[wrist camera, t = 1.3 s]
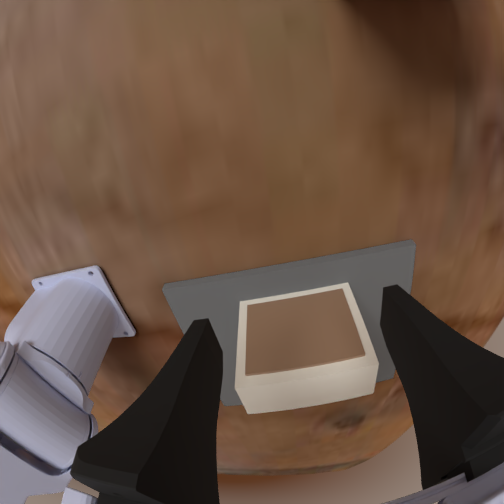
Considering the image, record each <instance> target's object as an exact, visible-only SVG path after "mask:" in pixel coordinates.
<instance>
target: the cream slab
mask: <svg viewBox="0 0 504 504" xmlns="http://www.w3.org/2000/svg"><path fill="white" fill-rule="evenodd" d="M378 366H379V362H378V359H377V357H376V354H375V351H374V348H373V345H372V343H371V340H370V337H369V334H368V332H367V329H366V326H365V324H364V321H363V319H362V316H361V313H360V311H359V308H358V306H357V303H356V301H355V298H354V296H353V293H352V291H351V288H350V286H349V283H348V282H347V283H342V284H337V285H332V286H327V287H322V288H316V289H311V290H305V291H300V292H294V293H289V294H283V295H277V296H271V297H265V298H259V299H253V300H246V301H240V307H239V323H238V339H237V356H236V373H235V390H236V392H237V394H238V396H239V398H240V400H241V401H242V403H243V405H244V407H245V409H246V411H247V413H248V414H254V413H265V412H274V411H282V410H290V409H297V408H303V407H310V406H316V405H321V404H327V403H332V402H337V401H342V400H347V399H351V398H356V397H360V396H364V395H369V394H373V393H374V388H375V383H376V377H377V372H378Z"/></svg>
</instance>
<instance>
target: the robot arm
mask: <svg viewBox="0 0 504 504" xmlns="http://www.w3.org/2000/svg"><path fill="white" fill-rule="evenodd" d="M90 271H91V272H92V273H91V272H90ZM32 286H33V287H34V289H35V291H34V293H33V294H32V295H31V296H30V298H29V299H28V300H27V302H26V303H25V304H24V306H23V307H22V308H21V310H20V311H19V312H18V314H17V315H16V316H15V318H14V319H13V320H12V322H11V323H10V325H9V326H8V328H7V330H6V333H5V339H4V342H0V504H25V502H26V500H27V498H28V496H32V495H42V494H53V493H59V492H63V491H64V495H63V499H62V503H61V504H220V503H219V493H218V482H217V459H216V429H217V418H218V410H219V403H220V395H221V387H222V379H223V351H222V348H221V346H220V344H219V342H218V339H217V337H216V335H215V332H214V330H213V328H212V325H211V323H210V321H209V318H206V319H198V320H194V321H193V322H192V323H191V325H190V327H189V328H188V330H187V331H186V333H185V334H184V336H183V338H182V339H181V341H180V342H179V344H178V346H177V347H176V349H175V350H174V352H173V353H172V355H171V356H170V358H169V359H168V361H167V362H166V364H165V365H164V366H163V368H162V369H161V371H160V372H159V373H158V375H157V376H156V377H155V379H154V380H153V381H152V383H151V384H150V385H149V386H148V387H147V389H146V390H145V391H144V392H143V393H142V394H141V395H140V397H139V398H138V399H137V400H136V401H135V402H134V403H133V404H132V405H131V406H130V407H129V408H128V409H127V410H126V411H124V412H123V413H122V414H121V415H120V416H119V417H118V418H117V419H116V420H114V421H113V422H112V423H111V424H110V425H108V426H107V427H106V428H104V429H103V430H102V431H100V432H99V433H98V425H97V421H96V419H95V417H94V416H93V415H92V414H91V410H92V407H93V404H94V402H93V401H92V400H90V399H89V398H88V395H89V392H90V389H91V387H92V384H93V382H94V379H95V377H96V375H97V372H98V370H99V367H100V365H101V363H102V360H103V358H104V356H105V353H106V351H107V349H108V346H109V344H110V342H111V340H112V338H116V337H131V336H134V335H135V333H136V331H135V329H134V327H133V326H132V324H131V322H130V321H129V319H128V317H127V315H126V314H125V312H124V310H123V309H122V307H121V305H120V303H119V302H118V300H117V298H116V296H115V294H114V293H113V291H112V289H111V287H110V285H109V283H108V282H107V280H106V278H105V276H104V274H103V272H102V270H101V269H100V268H99V267H98V266H91V267H86V268H81V269H77V270H72V271H68V272H63V273H59V274H54V275H50V276H45V277H41V278H36V279H33V281H32ZM380 327H381V330H382V334H383V337H384V341H385V344H386V347H387V349H388V352H389V354H390V356H391V359H392V361H393V363H394V366H395V368H396V370H397V373H398V375H399V378H400V380H401V382H402V385H403V387H404V390H405V393H406V396H407V399H408V402H409V406H410V410H411V414H412V418H413V423H414V428H415V433H416V437H417V444H418V451H419V458H420V467H421V481H422V488H423V490H422V491H419V492H417V493H414V494H411V495H408V496H405V497H402V498H399V499H396V500H392V501H389V502H386V503H382V504H433V503H435V502H438V501H439V502H438V504H504V358H503V357H500V356H498V355H496V354H494V353H492V352H490V351H488V350H486V349H484V348H482V347H481V346H479V345H477V344H475V343H474V342H472V341H470V340H469V339H467V338H466V337H464V336H462V335H461V334H459V333H458V332H456V331H455V330H453V329H452V328H451V327H449V326H448V325H447V324H445V323H444V322H443V321H441V320H440V319H439V318H437V317H436V316H435V315H434V314H432V313H431V312H430V311H429V310H427V309H426V308H425V307H424V306H423V305H421V304H420V303H419V302H418V301H417V300H415V299H414V298H413V297H412V296H411V295H410V294H408V293H407V292H406V291H405V290H404V289H402V288H401V287H400V286H399V285H398V284H396V285H391V286H387V287H383V295H382V307H381V318H380ZM1 432H2V433H1ZM5 435H6V436H7V437H6V436H5ZM9 438H10V439H9ZM13 441H14V442H13ZM16 443H17V444H16ZM20 446H21V447H20ZM23 448H24V449H23ZM26 450H27V451H26ZM72 478H74V479H76V480H77V481H79V482H81V483H83V484H84V485H87V486H88V487H90V488H92V489H94V490H96V491H98V492H100V493H99V497H98V498H96V497H94V496H92V495H89V494H87V493H84V492H81V491H78V490H76V489H73V488H70V487H67V486H68V484H69V482H70V481H71V479H72ZM440 500H441V501H440Z"/></svg>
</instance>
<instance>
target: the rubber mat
mask: <svg viewBox="0 0 504 504" xmlns="http://www.w3.org/2000/svg"><path fill="white" fill-rule="evenodd" d="M415 249H416V244H415V243H414V242H413V240H412V239H411V240H406V241H401V242H396V243H391V244H386V245H380V246H375V247H370V248H365V249H360V250H354V251H349V252H344V253H338V254H333V255H328V256H322V257H317V258H311V259H306V260H300V261H295V262H289V263H284V264H278V265H273V266H267V267H261V268H256V269H250V270H244V271H238V272H232V273H227V274H221V275H215V276H209V277H203V278H197V279H191V280H185V281H179V282H173V283H166V284H164V286H163V289H162V291H163V293H164V295H165V297H166V299H167V301H168V303H169V305H170V308H171V310H172V312H173V314H174V316H175V318H176V320H177V322H178V324H179V326H180V328H181V329H182V331H183V333H184V334H185V333H186V331H187V330H188V328H189V327H190V325H191V323H192V322H193V321H194V320H198V319H206V318H209V321H210V323H211V325H212V328H213V330H214V332H215V335H216V337H217V339H218V342H219V344H220V346H221V348H222V351H223V379H222V387H221V395H220V400H221V401H222V403H223V404H224V406H232V405H243V403H242V401H241V400H240V398H239V396H238V394H237V392H236V390H235V373H236V356H237V339H238V323H239V307H240V301H246V300H253V299H259V298H265V297H271V296H277V295H283V294H289V293H294V292H300V291H305V290H311V289H316V288H322V287H327V286H332V285H337V284H342V283H347V282H348V283H349V286H350V288H351V291H352V293H353V296H354V298H355V301H356V303H357V306H358V308H359V311H360V313H361V316H362V319H363V321H364V324H365V326H366V329H367V332H368V334H369V337H370V340H371V343H372V345H373V348H374V351H375V354H376V357H377V359H378V362H379V366H378V372H377V377H376V382H380V381H384V380H387V379H391V378H393V376H394V373H395V369H396V368H395V366H394V363H393V361H392V359H391V356H390V354H389V352H388V349H387V347H386V344H385V341H384V337H383V334H382V330H381V327H380V318H381V307H382V295H383V287H387V286H391V285H396V284H398V285H399V286H400V287H401V288H402V289H404V290H405V291H406V292H407V293H408V294H410V293H411V285H412V278H413V269H414V260H415Z"/></svg>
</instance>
